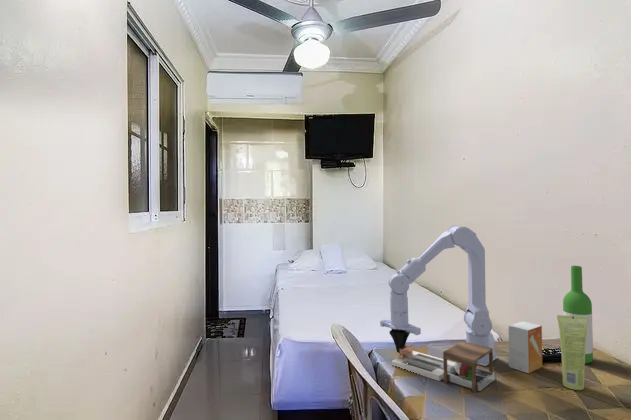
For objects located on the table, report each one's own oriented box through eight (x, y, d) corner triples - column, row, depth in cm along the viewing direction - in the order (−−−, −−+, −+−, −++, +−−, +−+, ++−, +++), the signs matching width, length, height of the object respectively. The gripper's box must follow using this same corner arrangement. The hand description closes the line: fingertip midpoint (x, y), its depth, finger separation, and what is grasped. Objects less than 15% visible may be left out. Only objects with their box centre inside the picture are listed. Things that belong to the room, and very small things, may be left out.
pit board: (412, 354, 134) (412, 350, 134) (458, 368, 122) (458, 363, 122) (391, 365, 126) (391, 360, 126) (439, 380, 114) (439, 375, 114)
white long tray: (413, 355, 133) (413, 342, 133) (494, 379, 113) (494, 363, 113) (396, 364, 126) (396, 350, 126) (479, 391, 106) (479, 374, 106)
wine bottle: (564, 353, 132) (562, 263, 131) (593, 358, 127) (591, 265, 127) (563, 361, 125) (561, 267, 125) (593, 366, 121) (590, 268, 121)
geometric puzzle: (470, 365, 119) (459, 347, 117) (490, 372, 113) (479, 354, 111) (458, 384, 117) (446, 366, 114) (478, 393, 111) (465, 374, 108)
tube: (571, 380, 112) (569, 312, 112) (590, 387, 107) (588, 316, 107) (558, 385, 109) (556, 314, 109) (577, 392, 105) (575, 319, 105)
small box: (529, 374, 117) (528, 330, 117) (508, 367, 122) (507, 325, 122) (543, 367, 121) (542, 325, 121) (522, 361, 127) (521, 320, 127)
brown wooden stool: (463, 369, 121) (462, 341, 121) (493, 378, 115) (492, 348, 115) (444, 382, 113) (443, 351, 113) (474, 392, 106) (474, 360, 106)
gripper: (374, 309, 133) (375, 349, 133) (411, 317, 122) (412, 361, 123) (386, 305, 138) (387, 344, 138) (423, 312, 127) (424, 354, 127)
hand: (400, 351), depth 131 cm, fingers closed
